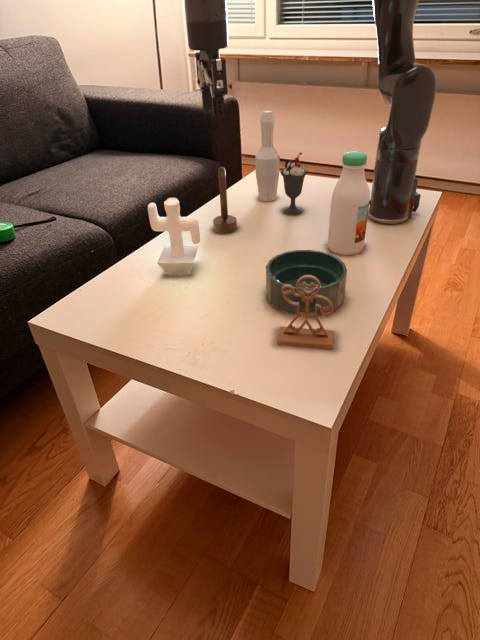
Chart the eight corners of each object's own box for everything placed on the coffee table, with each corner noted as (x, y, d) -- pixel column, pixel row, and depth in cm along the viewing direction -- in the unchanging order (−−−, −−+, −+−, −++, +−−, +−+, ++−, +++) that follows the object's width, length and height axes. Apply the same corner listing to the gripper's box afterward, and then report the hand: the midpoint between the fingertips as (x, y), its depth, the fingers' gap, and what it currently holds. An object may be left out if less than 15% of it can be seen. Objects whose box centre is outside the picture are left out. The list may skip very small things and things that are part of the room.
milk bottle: (342, 259, 97) (351, 162, 85) (320, 245, 102) (326, 152, 91) (371, 250, 99) (384, 155, 88) (348, 236, 105) (358, 146, 93)
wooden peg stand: (233, 222, 114) (230, 162, 105) (239, 231, 109) (237, 169, 101) (211, 226, 113) (206, 165, 104) (217, 235, 108) (212, 172, 100)
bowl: (323, 271, 93) (325, 244, 89) (357, 309, 82) (361, 280, 78) (256, 284, 90) (255, 257, 86) (282, 325, 79) (282, 295, 75)
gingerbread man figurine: (333, 334, 76) (339, 270, 69) (332, 349, 73) (339, 284, 66) (279, 330, 77) (280, 267, 70) (276, 345, 74) (277, 280, 67)
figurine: (200, 279, 92) (193, 207, 83) (154, 279, 93) (142, 208, 84) (205, 261, 98) (198, 193, 89) (161, 261, 99) (151, 193, 90)
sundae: (304, 216, 115) (307, 155, 106) (278, 215, 116) (278, 154, 107) (307, 206, 120) (310, 147, 111) (281, 205, 121) (282, 146, 113)
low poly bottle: (257, 193, 129) (255, 108, 116) (279, 194, 128) (281, 108, 115) (254, 202, 124) (252, 114, 111) (278, 202, 123) (279, 114, 110)
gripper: (237, 18, 79) (241, 119, 89) (216, 15, 90) (222, 105, 100) (195, 21, 77) (203, 123, 87) (178, 18, 89) (188, 109, 98)
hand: (213, 113), depth 93 cm, fingers open, 8 cm apart
